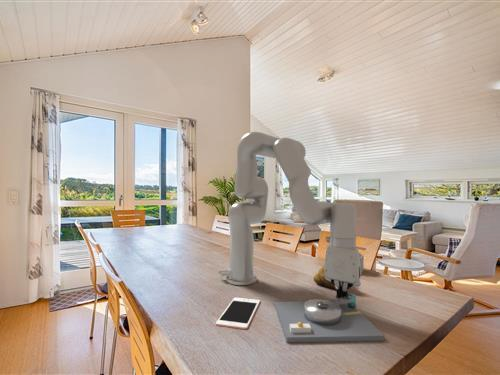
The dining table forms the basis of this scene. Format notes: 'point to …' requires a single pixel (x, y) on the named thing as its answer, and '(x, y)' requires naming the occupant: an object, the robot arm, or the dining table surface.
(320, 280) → the brown irregular lump
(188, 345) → the dining table surface
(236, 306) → the cell phone
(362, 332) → the stand
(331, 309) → the dial
